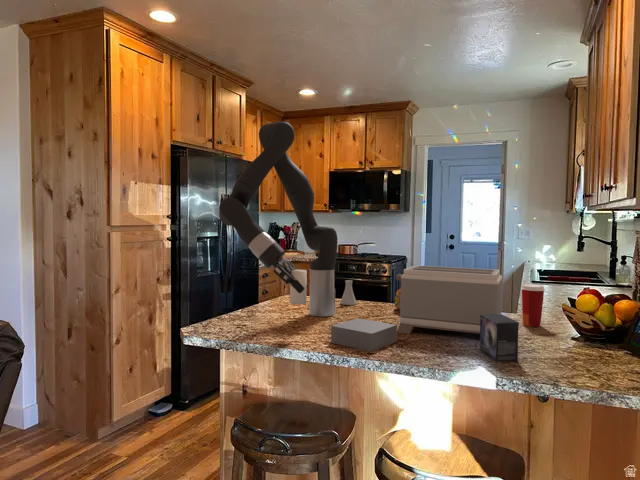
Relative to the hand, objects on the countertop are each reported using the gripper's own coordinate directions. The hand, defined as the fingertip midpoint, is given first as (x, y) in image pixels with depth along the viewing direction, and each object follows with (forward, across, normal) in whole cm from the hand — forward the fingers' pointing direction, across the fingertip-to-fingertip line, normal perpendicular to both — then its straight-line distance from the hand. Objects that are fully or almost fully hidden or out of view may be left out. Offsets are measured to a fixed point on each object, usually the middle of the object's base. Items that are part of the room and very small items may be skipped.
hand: (304, 289), depth 145 cm
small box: (+50, -8, -28) cm, 58 cm away
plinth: (+24, -2, -3) cm, 24 cm away
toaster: (+42, +19, -20) cm, 50 cm away
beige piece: (+2, 0, +4) cm, 5 cm away
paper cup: (+63, +34, -41) cm, 83 cm away
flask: (+16, +59, +6) cm, 61 cm away
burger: (+34, +50, -12) cm, 62 cm away
